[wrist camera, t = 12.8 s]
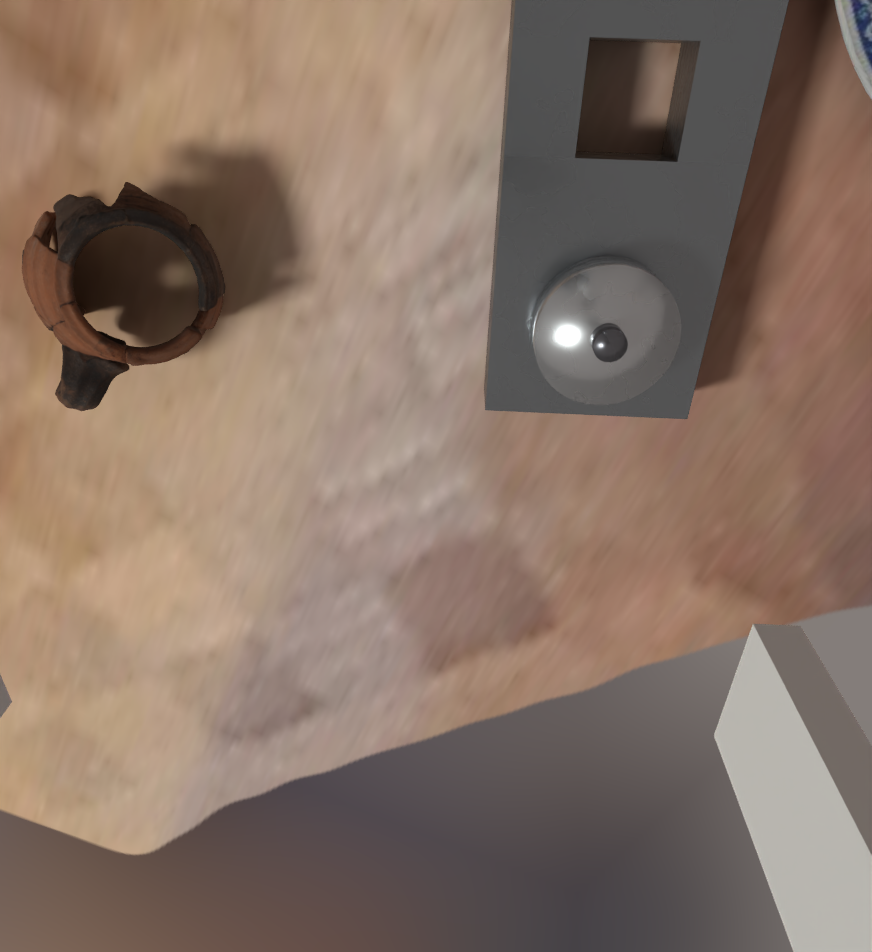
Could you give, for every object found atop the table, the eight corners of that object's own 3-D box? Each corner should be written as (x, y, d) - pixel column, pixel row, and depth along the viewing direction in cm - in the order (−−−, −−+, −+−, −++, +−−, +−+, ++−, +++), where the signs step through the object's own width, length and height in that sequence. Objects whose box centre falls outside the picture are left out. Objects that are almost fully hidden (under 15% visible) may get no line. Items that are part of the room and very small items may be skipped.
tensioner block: (514, -37, 30) (524, -58, 25) (769, -29, 30) (832, -49, 24) (484, 388, 40) (486, 435, 35) (673, 396, 40) (703, 445, 35)
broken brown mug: (41, 147, 35) (46, 153, 28) (224, 216, 40) (262, 233, 34) (-3, 369, 38) (-8, 419, 31) (172, 405, 43) (198, 455, 37)
